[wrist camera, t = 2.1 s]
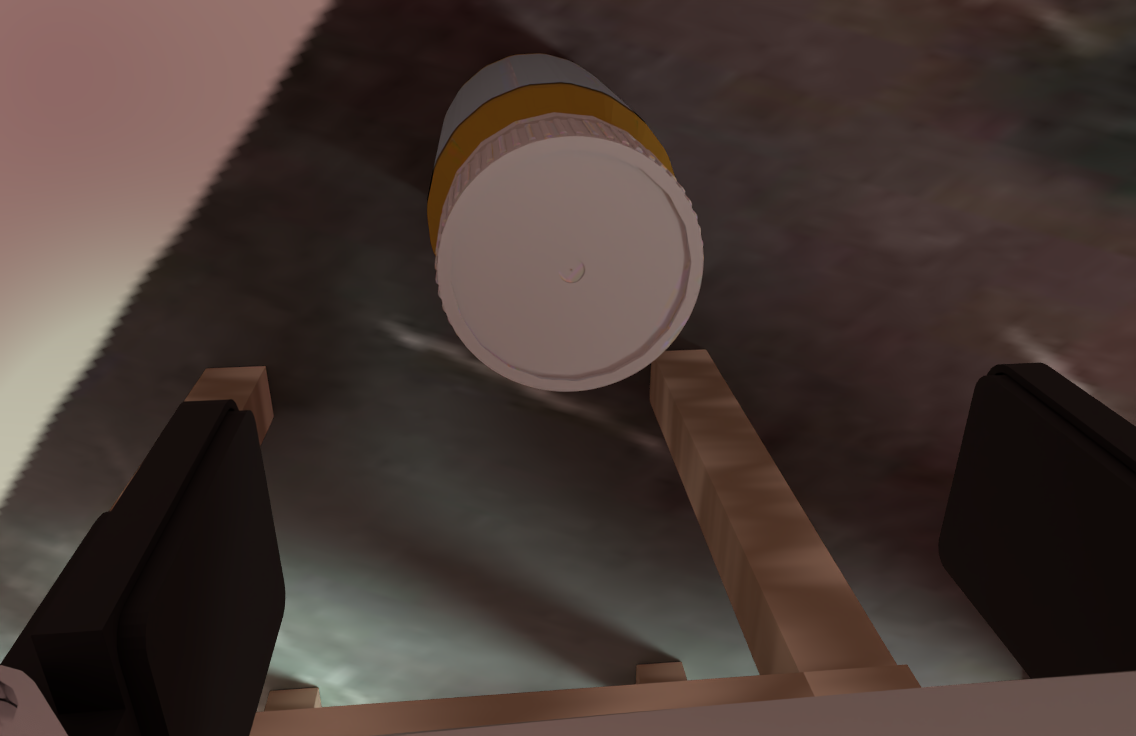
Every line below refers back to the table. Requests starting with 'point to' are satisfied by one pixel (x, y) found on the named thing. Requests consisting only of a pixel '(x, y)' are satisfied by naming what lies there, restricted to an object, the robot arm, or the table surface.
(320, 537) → the table surface
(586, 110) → the bottle
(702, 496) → the trapdoor frame
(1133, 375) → the table surface
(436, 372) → the table surface
